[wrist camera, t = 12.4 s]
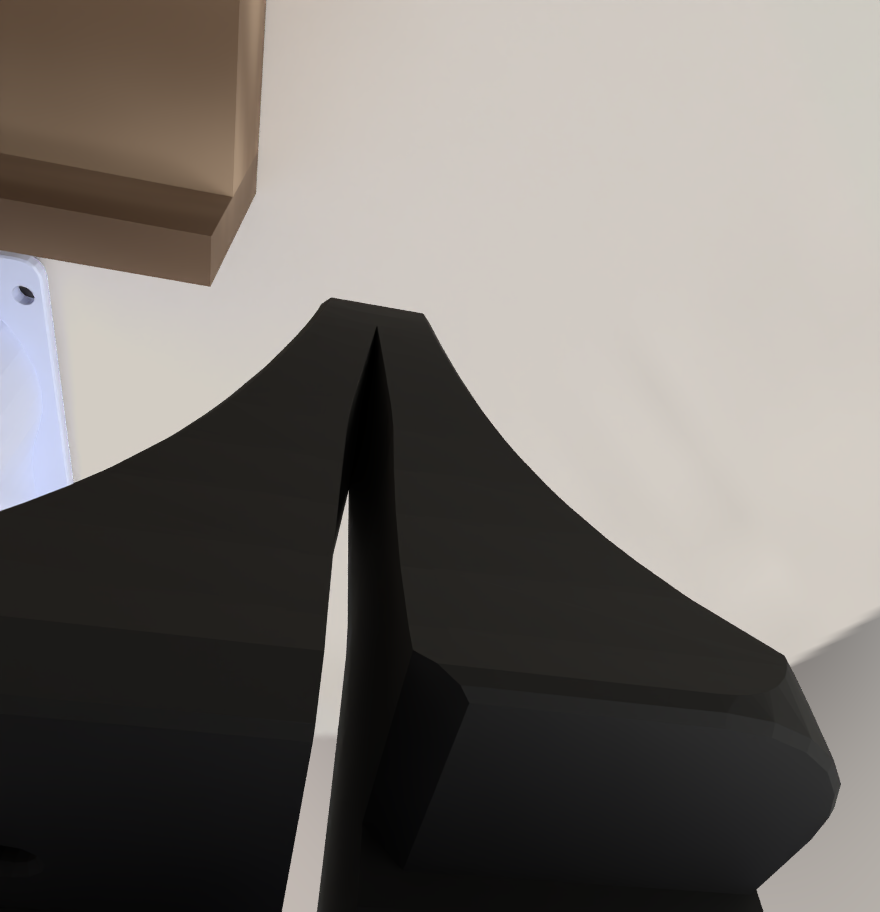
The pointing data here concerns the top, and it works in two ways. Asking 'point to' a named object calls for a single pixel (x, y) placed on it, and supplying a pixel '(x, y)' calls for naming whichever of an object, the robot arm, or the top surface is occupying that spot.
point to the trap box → (129, 131)
